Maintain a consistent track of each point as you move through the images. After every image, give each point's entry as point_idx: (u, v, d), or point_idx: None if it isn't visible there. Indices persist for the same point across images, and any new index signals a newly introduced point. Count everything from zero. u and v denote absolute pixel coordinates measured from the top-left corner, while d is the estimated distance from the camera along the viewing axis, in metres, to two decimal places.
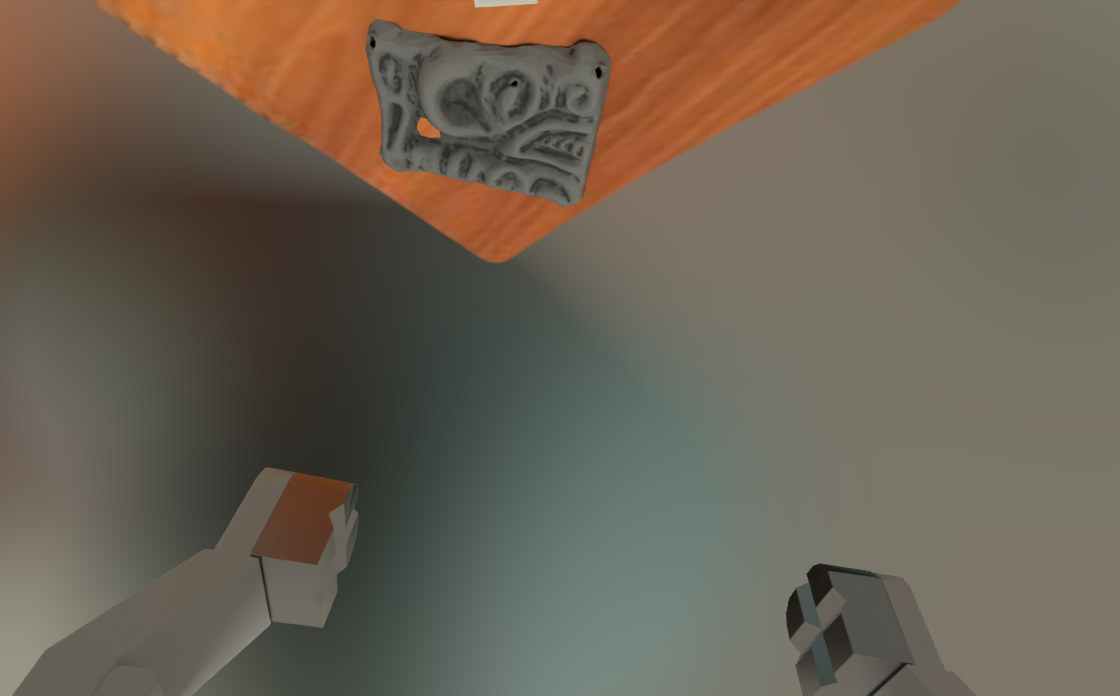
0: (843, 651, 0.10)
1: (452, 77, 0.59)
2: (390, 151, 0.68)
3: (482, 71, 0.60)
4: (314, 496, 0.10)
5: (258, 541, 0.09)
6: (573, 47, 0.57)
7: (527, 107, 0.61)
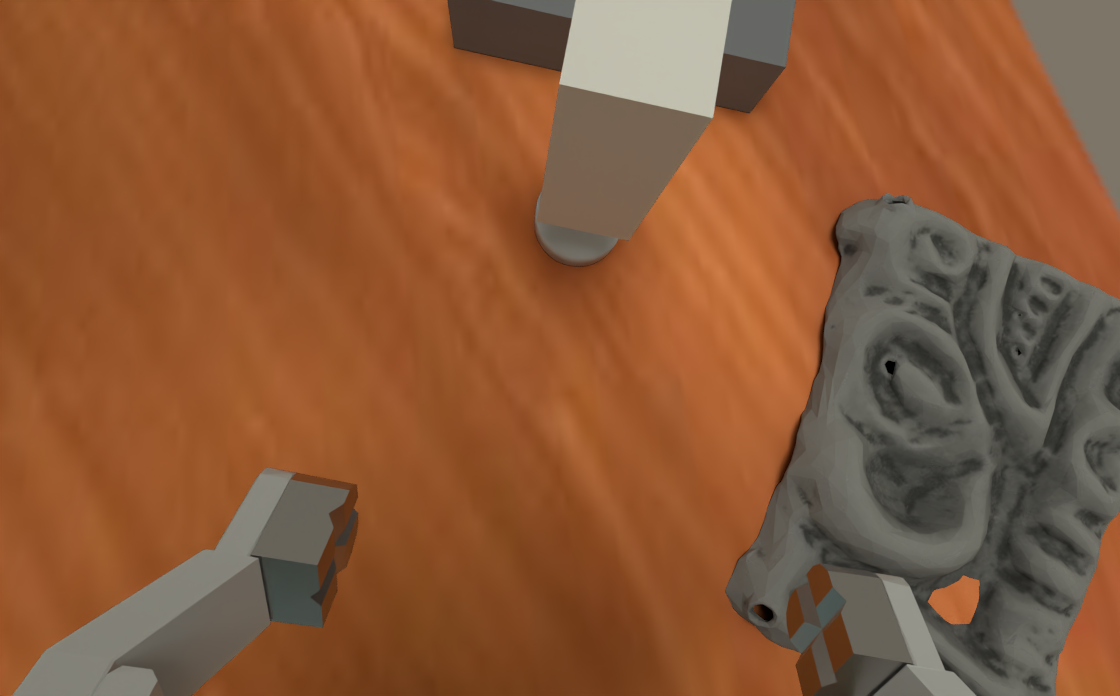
0: (843, 651, 0.10)
1: (859, 470, 0.29)
2: None
3: (857, 419, 0.31)
4: (314, 496, 0.10)
5: (258, 541, 0.09)
6: (842, 247, 0.33)
7: (942, 354, 0.31)
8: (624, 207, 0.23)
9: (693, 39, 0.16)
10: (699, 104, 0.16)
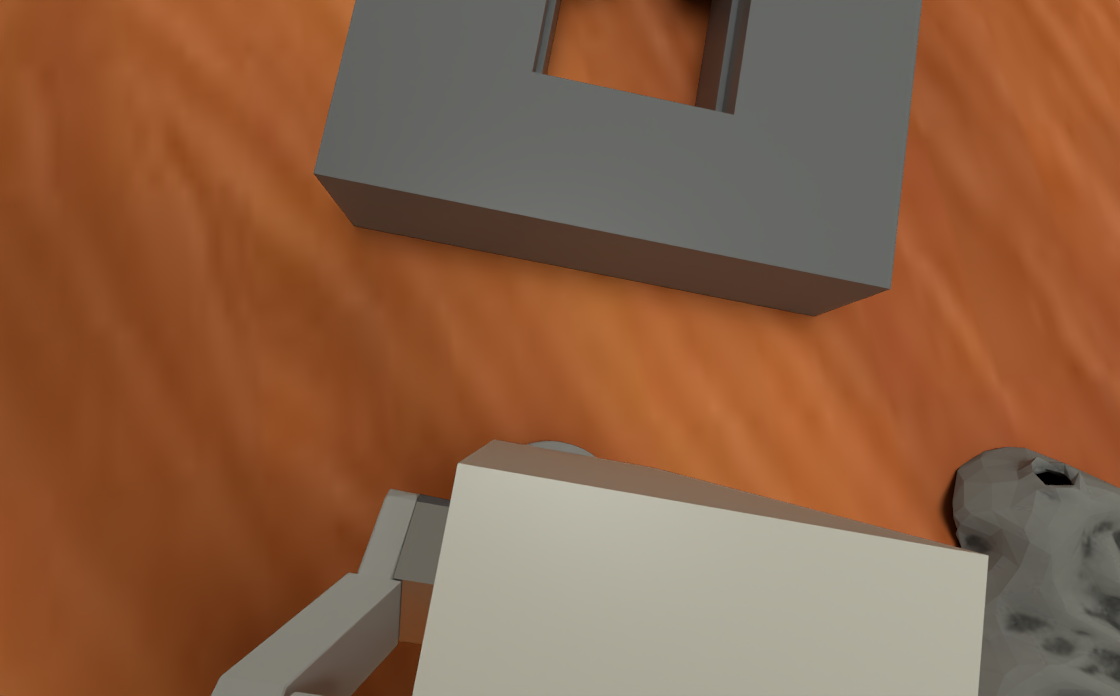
0: None
1: None
2: None
3: None
4: (442, 518, 0.10)
5: (398, 564, 0.09)
6: (964, 536, 0.21)
7: None
8: None
9: None
10: None
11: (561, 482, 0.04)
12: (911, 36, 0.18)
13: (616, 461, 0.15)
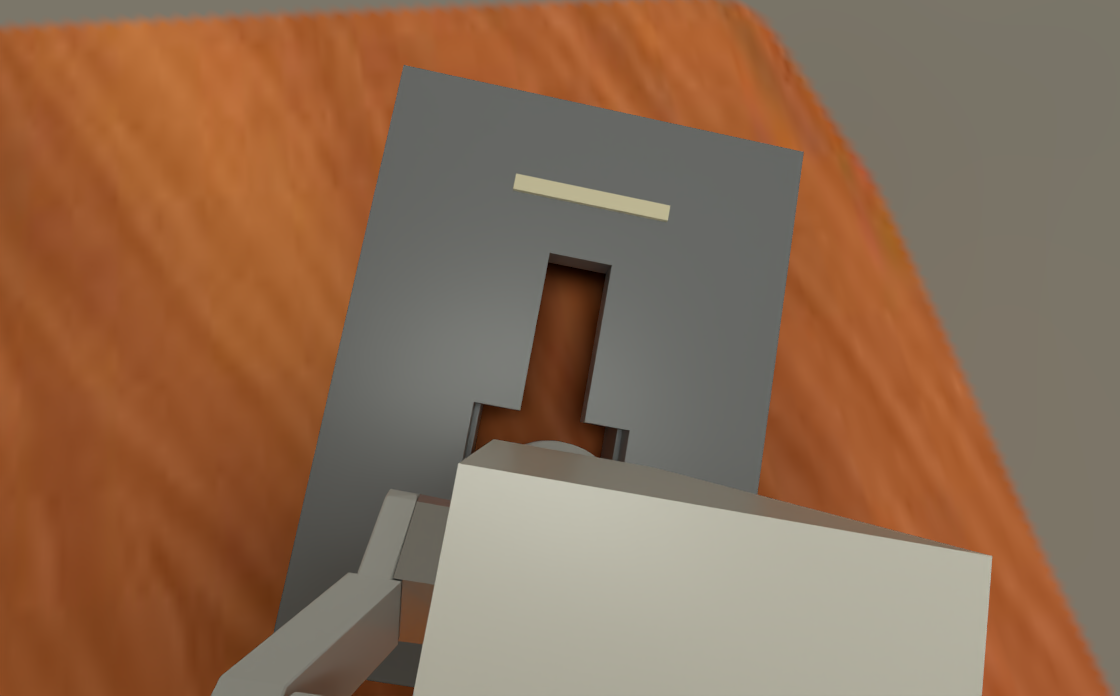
0: None
1: None
2: None
3: None
4: (442, 518, 0.10)
5: (398, 564, 0.09)
6: None
7: None
8: None
9: None
10: None
11: (562, 482, 0.04)
12: None
13: (616, 461, 0.15)
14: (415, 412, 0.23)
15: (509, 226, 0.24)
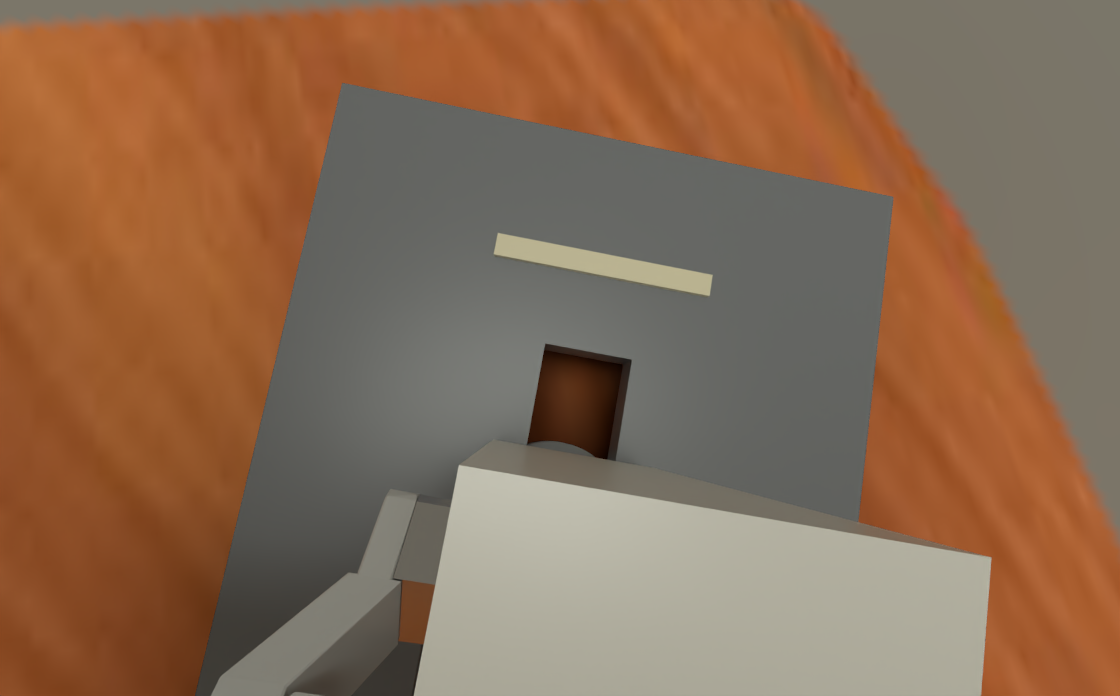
0: None
1: None
2: None
3: None
4: (442, 518, 0.10)
5: (398, 564, 0.09)
6: None
7: None
8: None
9: None
10: None
11: (562, 484, 0.04)
12: None
13: (616, 461, 0.15)
14: None
15: (488, 307, 0.17)
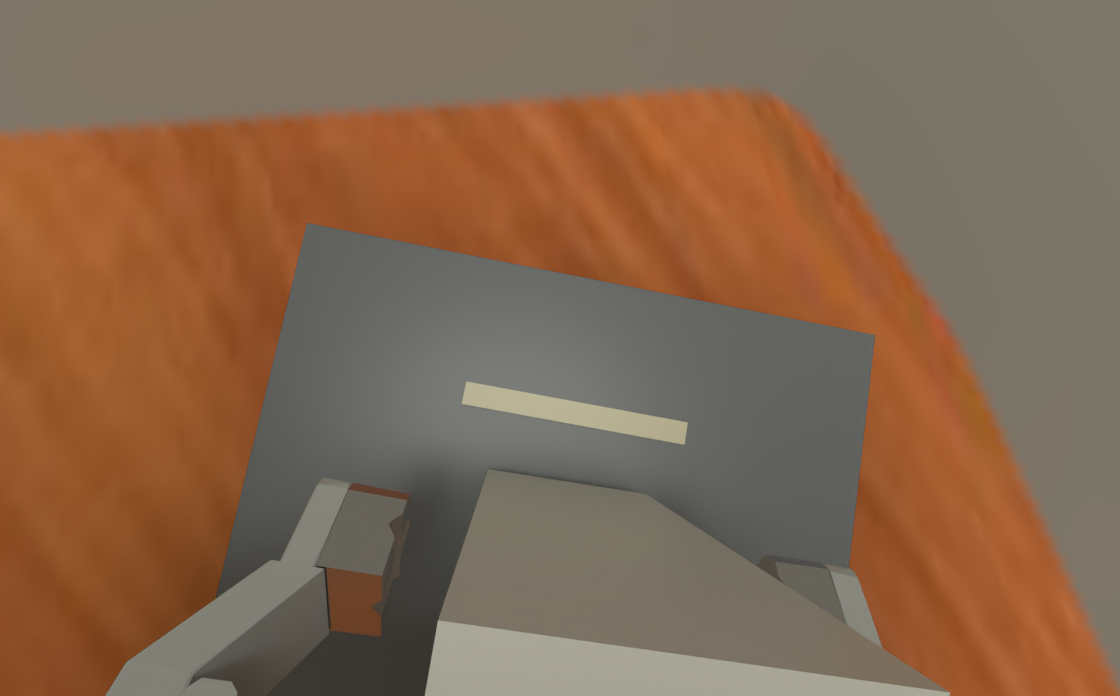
0: None
1: None
2: None
3: None
4: (373, 506, 0.10)
5: (323, 552, 0.09)
6: None
7: None
8: None
9: None
10: None
11: (538, 635, 0.05)
12: None
13: (609, 490, 0.15)
14: None
15: (456, 458, 0.16)
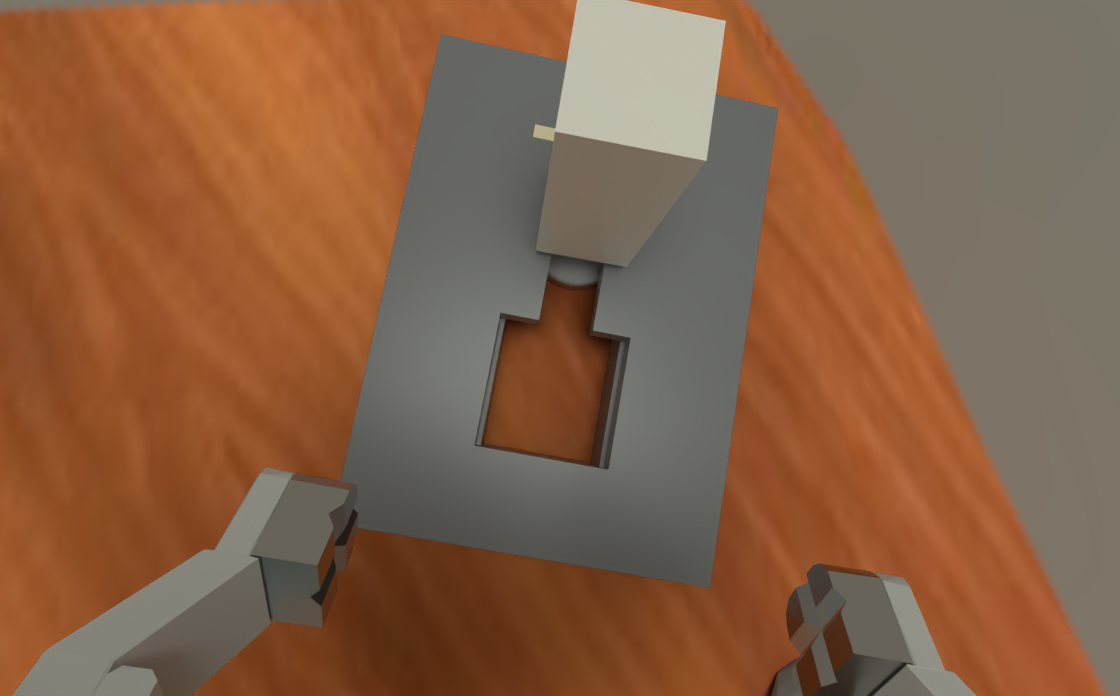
0: (843, 651, 0.10)
1: None
2: None
3: None
4: (314, 496, 0.10)
5: (258, 541, 0.09)
6: None
7: None
8: (621, 238, 0.24)
9: (685, 83, 0.17)
10: (692, 147, 0.16)
11: None
12: (730, 408, 0.28)
13: None
14: (452, 320, 0.27)
15: (529, 168, 0.28)
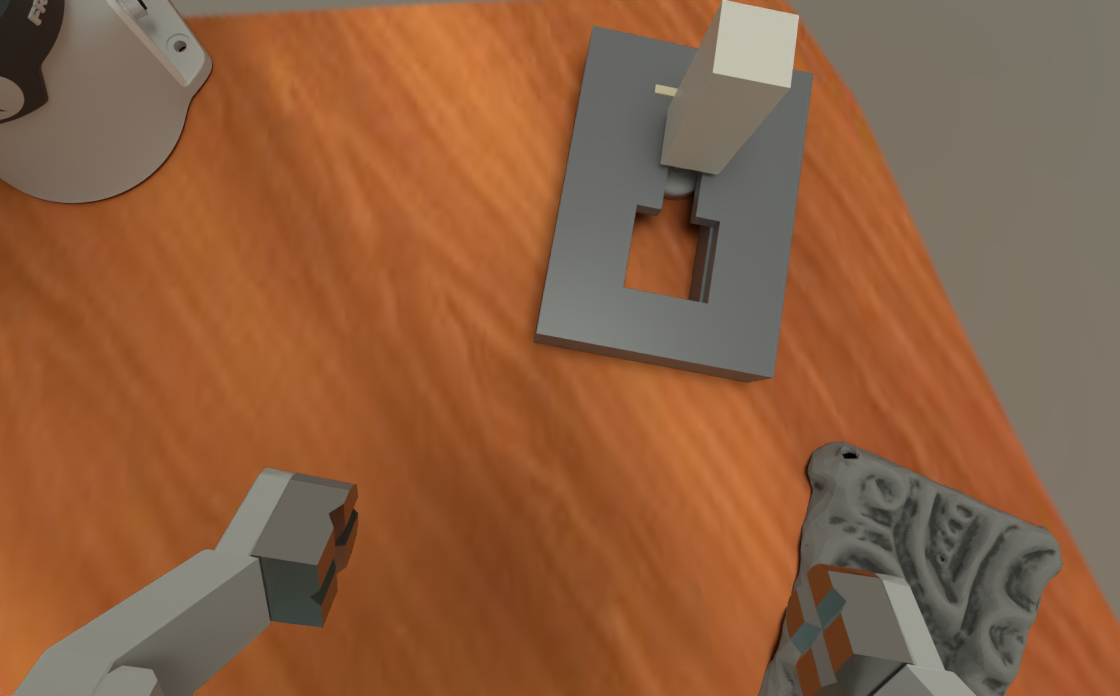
0: (843, 651, 0.10)
1: None
2: None
3: None
4: (314, 496, 0.10)
5: (258, 541, 0.09)
6: (813, 483, 0.45)
7: (885, 568, 0.43)
8: (723, 148, 0.39)
9: (778, 48, 0.32)
10: (783, 81, 0.31)
11: None
12: (785, 266, 0.43)
13: None
14: (606, 209, 0.42)
15: (652, 112, 0.43)
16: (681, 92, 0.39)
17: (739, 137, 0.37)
